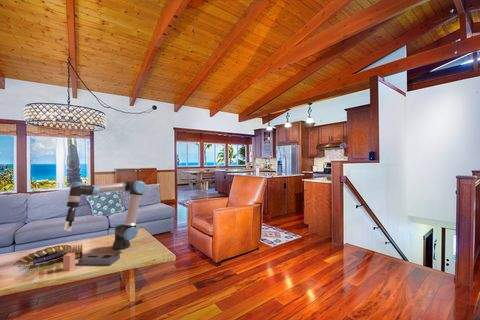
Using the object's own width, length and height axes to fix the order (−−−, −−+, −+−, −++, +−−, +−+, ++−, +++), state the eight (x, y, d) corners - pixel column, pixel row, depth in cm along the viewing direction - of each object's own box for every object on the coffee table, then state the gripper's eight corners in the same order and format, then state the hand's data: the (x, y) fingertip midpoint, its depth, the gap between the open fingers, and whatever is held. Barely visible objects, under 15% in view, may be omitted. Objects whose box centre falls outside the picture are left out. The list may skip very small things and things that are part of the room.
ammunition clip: (82, 257, 189) (82, 243, 189) (82, 257, 187) (82, 243, 187) (66, 260, 182) (66, 246, 182) (66, 261, 180) (66, 246, 181)
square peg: (68, 267, 170) (68, 253, 170) (74, 267, 170) (75, 253, 170) (63, 270, 165) (63, 255, 165) (69, 270, 165) (70, 255, 165)
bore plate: (89, 258, 187) (89, 253, 187) (119, 258, 186) (119, 253, 186) (78, 265, 174) (78, 259, 174) (110, 265, 173) (110, 260, 173)
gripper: (65, 202, 177) (58, 229, 171) (70, 200, 159) (63, 231, 154) (76, 202, 182) (70, 229, 176) (82, 201, 164) (76, 231, 159)
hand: (67, 230), depth 165 cm, fingers open, 13 cm apart
